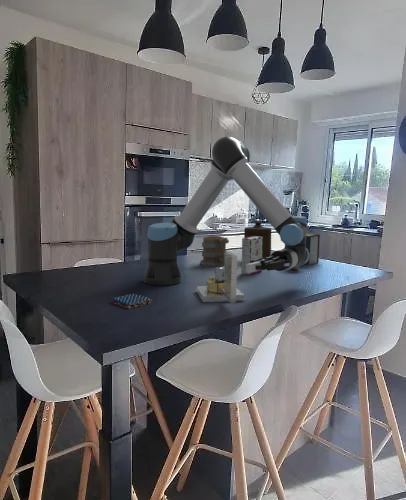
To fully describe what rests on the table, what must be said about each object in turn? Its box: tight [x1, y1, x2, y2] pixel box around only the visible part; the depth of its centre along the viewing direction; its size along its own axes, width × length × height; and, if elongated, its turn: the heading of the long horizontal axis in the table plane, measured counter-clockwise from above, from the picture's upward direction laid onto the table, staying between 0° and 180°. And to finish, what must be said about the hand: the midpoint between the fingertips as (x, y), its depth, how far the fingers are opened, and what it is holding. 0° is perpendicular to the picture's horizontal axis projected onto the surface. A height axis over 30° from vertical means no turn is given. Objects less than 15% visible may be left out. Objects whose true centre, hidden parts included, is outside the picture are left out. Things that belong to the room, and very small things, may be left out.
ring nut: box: [206, 251, 238, 304], centre depth 122 cm, size 22×8×15 cm, turn 11°
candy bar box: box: [241, 236, 263, 276], centre depth 170 cm, size 11×5×16 cm, turn 143°
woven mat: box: [109, 292, 154, 310], centre depth 121 cm, size 10×11×2 cm
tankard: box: [200, 235, 230, 268], centre depth 187 cm, size 20×13×15 cm, turn 25°
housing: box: [195, 266, 246, 303], centre depth 129 cm, size 14×14×10 cm
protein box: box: [284, 232, 321, 266], centre depth 201 cm, size 10×15×16 cm
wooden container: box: [243, 220, 272, 259], centre depth 202 cm, size 15×15×22 cm
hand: (247, 268), depth 119 cm, fingers closed
